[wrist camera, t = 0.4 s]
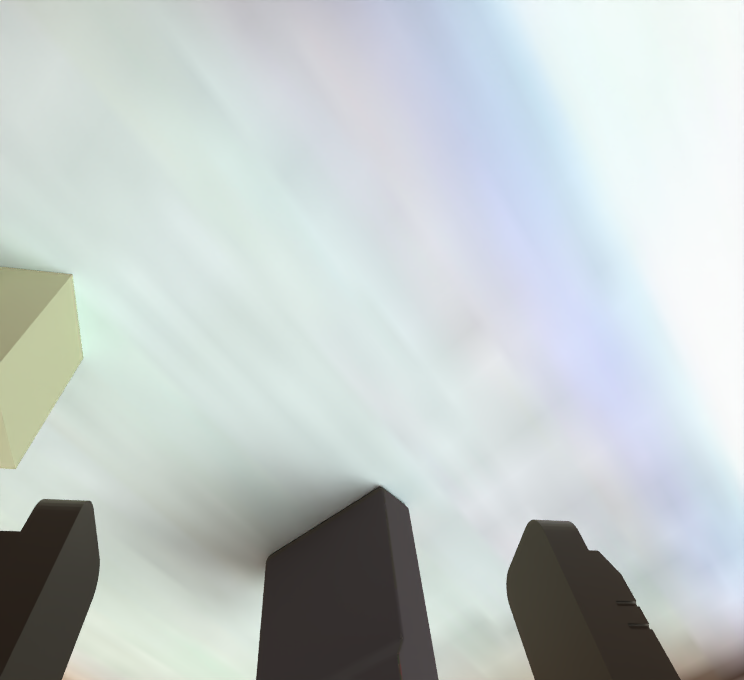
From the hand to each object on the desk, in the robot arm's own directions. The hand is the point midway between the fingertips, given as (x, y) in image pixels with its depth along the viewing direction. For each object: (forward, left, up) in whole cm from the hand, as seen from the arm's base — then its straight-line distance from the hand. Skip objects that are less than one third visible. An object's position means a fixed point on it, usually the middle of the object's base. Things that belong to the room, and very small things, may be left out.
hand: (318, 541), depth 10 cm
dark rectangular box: (+24, +4, -19) cm, 31 cm away
